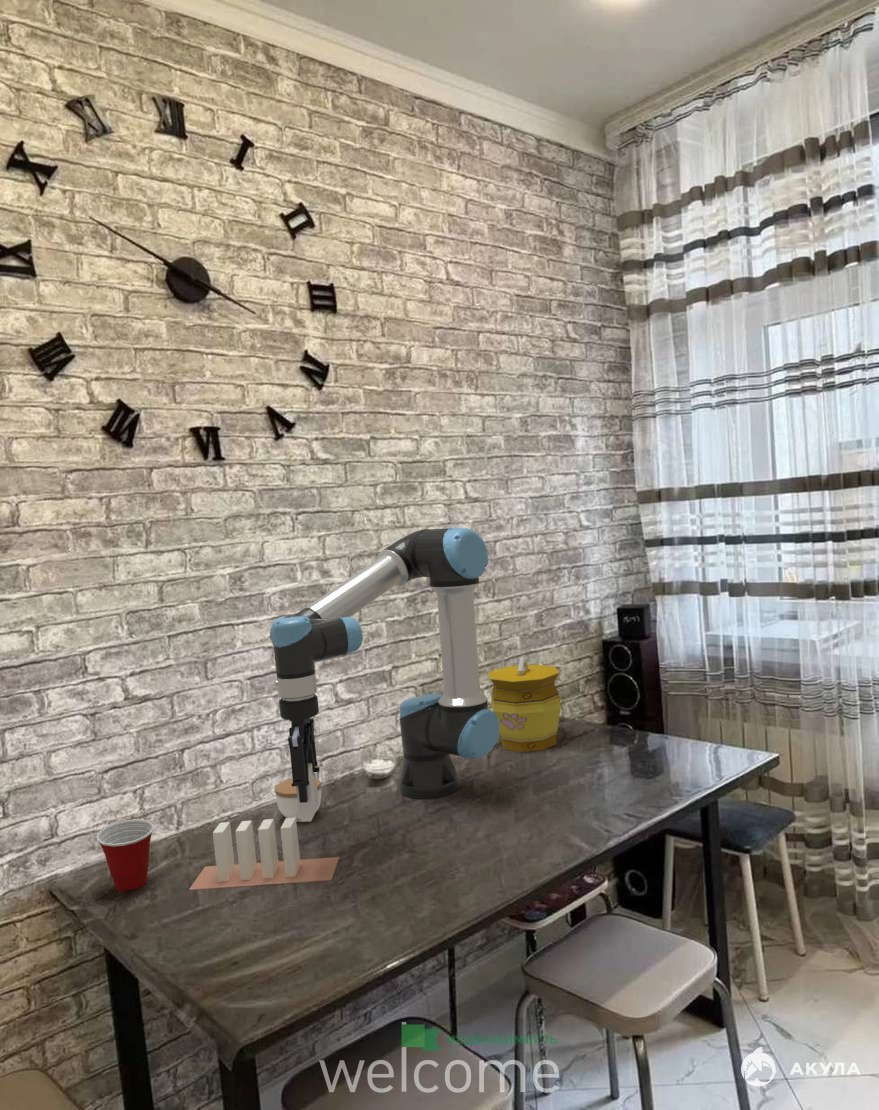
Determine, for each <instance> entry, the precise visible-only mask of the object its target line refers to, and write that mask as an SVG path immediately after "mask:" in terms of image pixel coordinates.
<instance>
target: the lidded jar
mask: <svg viewBox="0 0 879 1110" xmlns="http://www.w3.org/2000/svg"><path fill="white" fill-rule="evenodd" d="M316 781H317V791H318V802H319V805H318V806H316V812H315V814H316V813H317V812H318V810H319V808H320V806H321V801H322V788H321V787H322V782H321V781H320V779H319V778H316ZM292 783H293V778H290V779H287V780H283V781H282V782H279V783H278V784H277V785H275V786H274V792H275V793H274V794H275V799H276V804H277V807H278V809H279V812H280V813H281V815H283V817H285V819H286V818H293V817H296V823H301V818H299V811H298V801H297V791H296V786H294V787H292V785H291V784H292Z"/></svg>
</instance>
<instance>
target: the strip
mask: <svg viewBox="0 0 879 1110" xmlns="http://www.w3.org/2000/svg"><path fill="white" fill-rule="evenodd" d="M339 860H340V856H337V857H336V856H335V857H320V858H308V859H305V858H304V859H300V863H301V866H300V868H299V870H298V872H297V875H296V877H286V876H285V866H284V860H278V864H279V867H278V869H277V871H276V873H275V875H274V877H273V878H267V879H263V873H262V864H261V862H256V864H257V869H256V871H255V873H254V874H253V876H252V878H251V880H240V871H239V863H237V864H235V863H234V864H235V871H234V872H233V874H232V876H231V877H230V879H229V881H224V882H218V877H217V868H216V865H210V866H209V865H207V866H204V867H203V869H201V870H202V871H200V873H199V874H198V876H197V877H196V879H195V880H194V882H192V885H191V886H190V887H189V888H188V890H189V891H190V890H191V891H195V890H206V889H207V890H208V889H221V888H222V889H224V888H237V887H250V886H251V887H252V886H266V885H279V884H280V885H282V884H292V883H293V884H296V883H308V882H309V883H311V882H322V881H323V882H324V881H332V879H333V877H334V874H335V871H336V868H337V866H338V862H339Z"/></svg>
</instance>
